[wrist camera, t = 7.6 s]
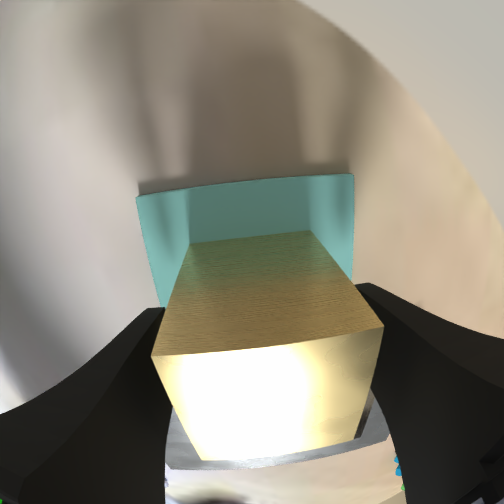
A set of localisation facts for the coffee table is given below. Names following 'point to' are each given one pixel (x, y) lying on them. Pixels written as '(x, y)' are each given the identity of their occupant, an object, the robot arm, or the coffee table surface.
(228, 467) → the rail plate
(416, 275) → the coffee table surface
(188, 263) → the brass block
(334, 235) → the teal mat
